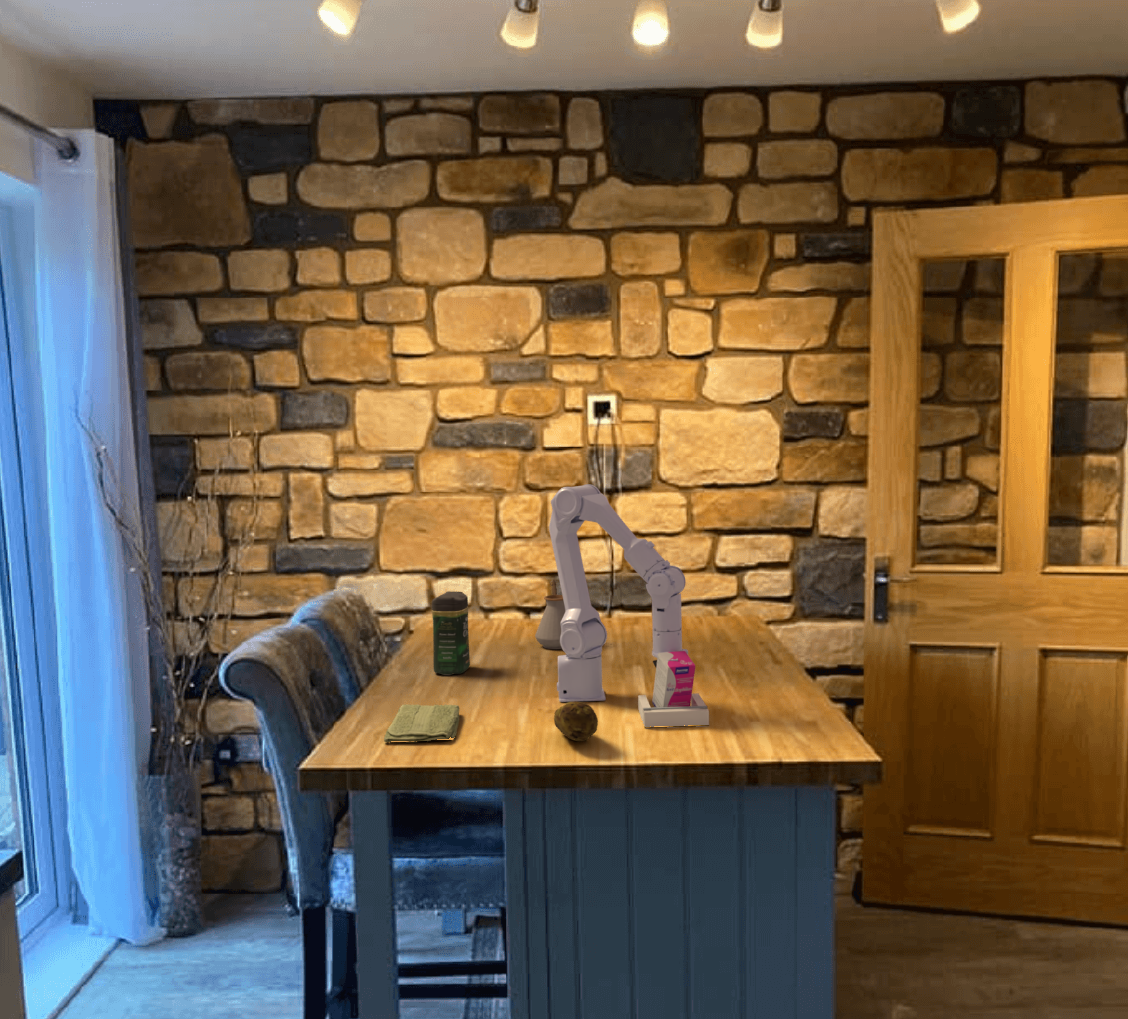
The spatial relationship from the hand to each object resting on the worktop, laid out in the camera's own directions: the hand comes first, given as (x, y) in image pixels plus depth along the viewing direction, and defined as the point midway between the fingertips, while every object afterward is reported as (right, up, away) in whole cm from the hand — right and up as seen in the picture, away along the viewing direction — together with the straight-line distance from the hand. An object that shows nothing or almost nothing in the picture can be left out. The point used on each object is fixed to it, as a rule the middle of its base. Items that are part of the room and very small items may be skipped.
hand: (668, 696), depth 185 cm
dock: (0, -3, -5) cm, 6 cm away
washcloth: (-47, -5, -8) cm, 48 cm away
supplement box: (0, -2, -3) cm, 4 cm away
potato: (-19, -5, -18) cm, 26 cm away
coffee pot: (-23, +2, +62) cm, 66 cm away
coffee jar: (-47, -1, +34) cm, 58 cm away
